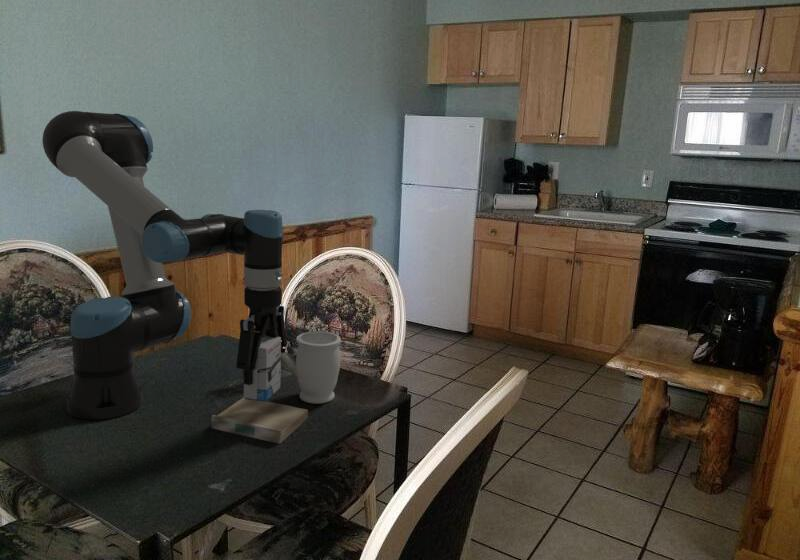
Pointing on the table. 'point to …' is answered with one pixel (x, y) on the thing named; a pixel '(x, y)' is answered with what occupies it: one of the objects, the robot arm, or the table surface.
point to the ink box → (268, 368)
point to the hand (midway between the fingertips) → (262, 389)
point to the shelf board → (260, 420)
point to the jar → (318, 365)
